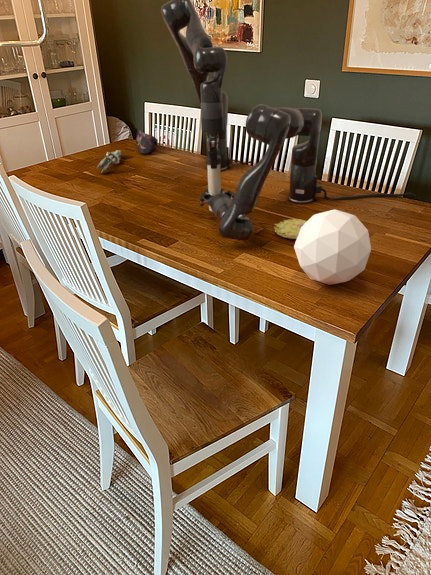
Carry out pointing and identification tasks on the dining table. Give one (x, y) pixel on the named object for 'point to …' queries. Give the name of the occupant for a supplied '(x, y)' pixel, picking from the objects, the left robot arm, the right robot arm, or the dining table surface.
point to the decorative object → (290, 228)
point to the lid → (217, 160)
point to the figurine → (110, 160)
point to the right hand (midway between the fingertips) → (213, 191)
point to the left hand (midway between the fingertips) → (213, 165)
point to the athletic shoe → (146, 142)
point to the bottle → (214, 181)
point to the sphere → (333, 247)
